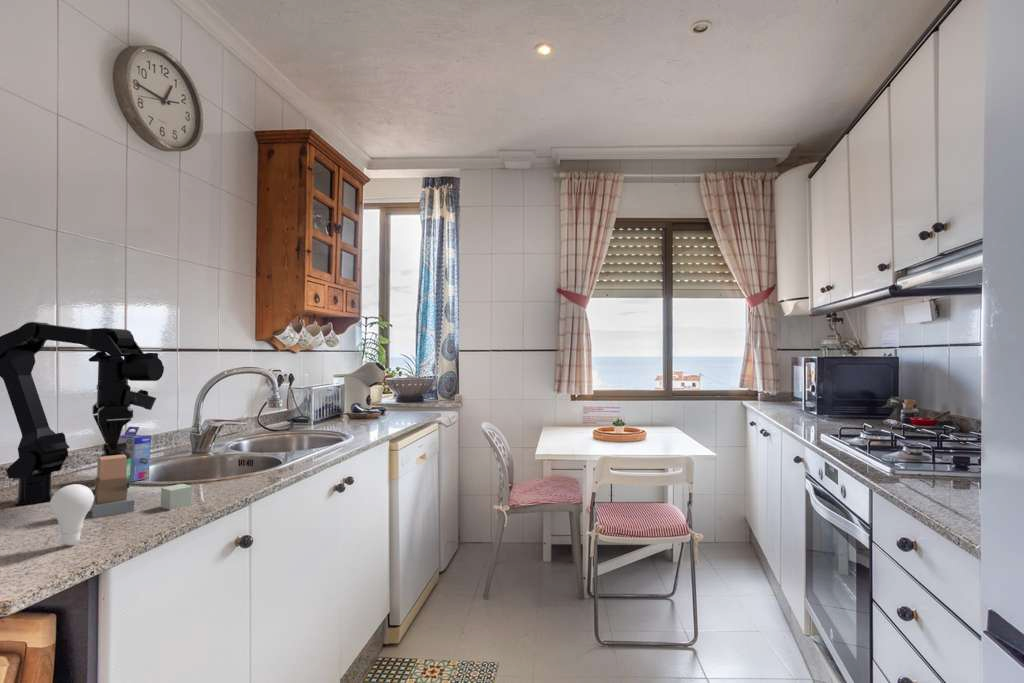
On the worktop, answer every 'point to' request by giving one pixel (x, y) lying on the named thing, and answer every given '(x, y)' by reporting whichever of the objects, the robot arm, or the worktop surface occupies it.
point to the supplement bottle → (118, 451)
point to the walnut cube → (110, 490)
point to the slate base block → (112, 507)
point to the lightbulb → (71, 510)
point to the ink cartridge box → (138, 453)
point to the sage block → (176, 496)
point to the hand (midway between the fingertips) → (110, 446)
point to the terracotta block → (112, 467)
